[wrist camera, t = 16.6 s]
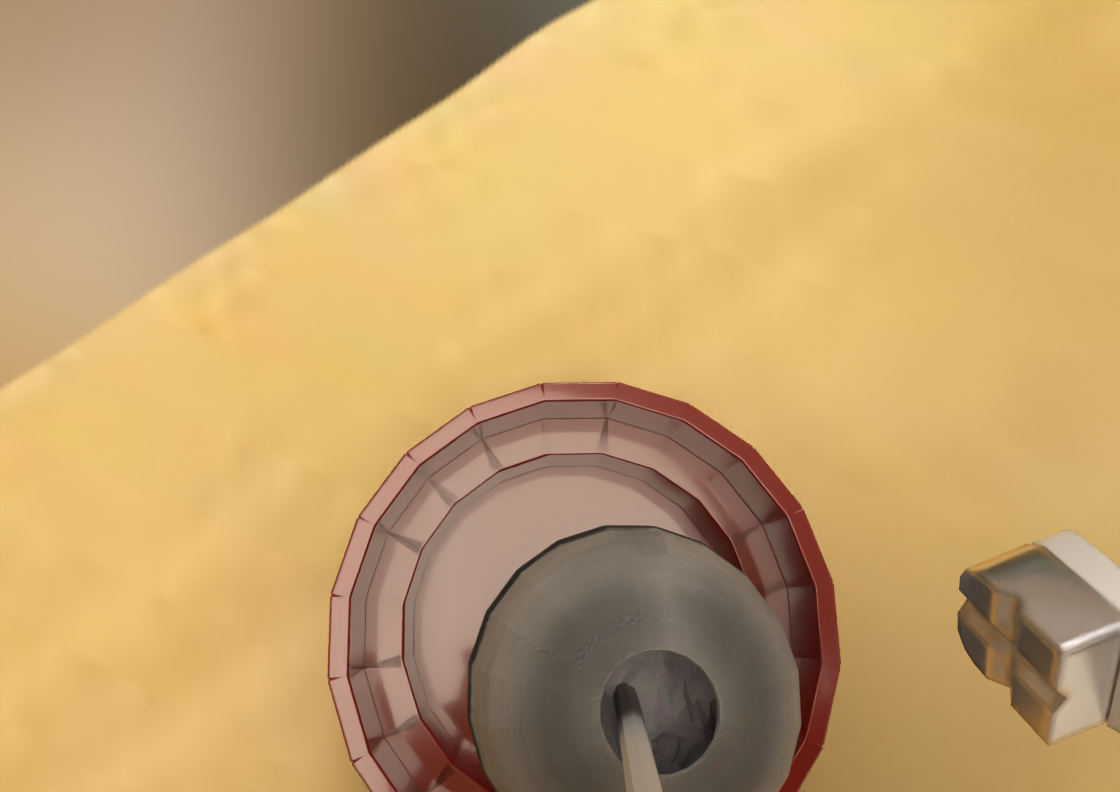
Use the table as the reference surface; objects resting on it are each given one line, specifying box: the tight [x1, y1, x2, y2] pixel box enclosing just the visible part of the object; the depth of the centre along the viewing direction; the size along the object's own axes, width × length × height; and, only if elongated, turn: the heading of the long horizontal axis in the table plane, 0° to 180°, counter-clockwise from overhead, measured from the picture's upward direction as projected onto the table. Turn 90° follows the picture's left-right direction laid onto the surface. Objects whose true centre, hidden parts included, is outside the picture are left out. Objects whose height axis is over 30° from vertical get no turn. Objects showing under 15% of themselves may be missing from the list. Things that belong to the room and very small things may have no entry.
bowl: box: [327, 382, 841, 792], centre depth 29 cm, size 15×15×6 cm
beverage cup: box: [467, 525, 801, 792], centre depth 21 cm, size 7×7×20 cm
